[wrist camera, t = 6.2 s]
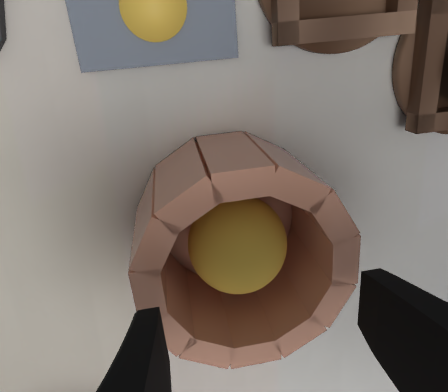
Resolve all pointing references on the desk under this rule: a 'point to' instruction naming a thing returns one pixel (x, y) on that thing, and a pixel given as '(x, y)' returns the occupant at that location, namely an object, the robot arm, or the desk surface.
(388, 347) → the robot arm
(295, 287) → the pink faceted bowl
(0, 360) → the desk surface
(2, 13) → the smartphone
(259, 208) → the mustard ball
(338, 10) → the round-based square frame stand
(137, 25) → the card
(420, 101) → the brown cradle
